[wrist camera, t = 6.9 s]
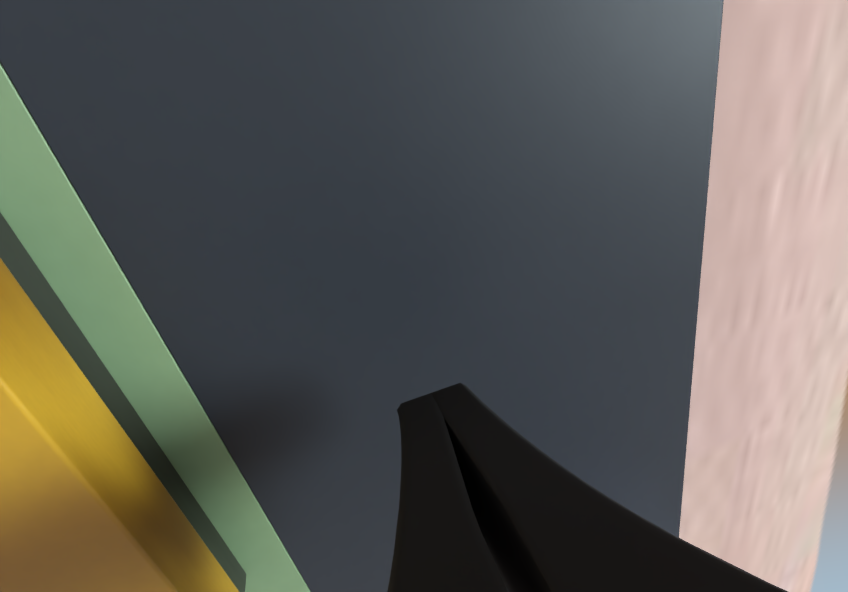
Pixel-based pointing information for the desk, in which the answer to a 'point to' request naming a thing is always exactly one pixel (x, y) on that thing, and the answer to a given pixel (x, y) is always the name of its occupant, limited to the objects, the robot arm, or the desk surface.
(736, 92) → the desk surface
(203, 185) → the desk mat
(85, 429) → the gold bar
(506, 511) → the robot arm
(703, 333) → the desk surface
